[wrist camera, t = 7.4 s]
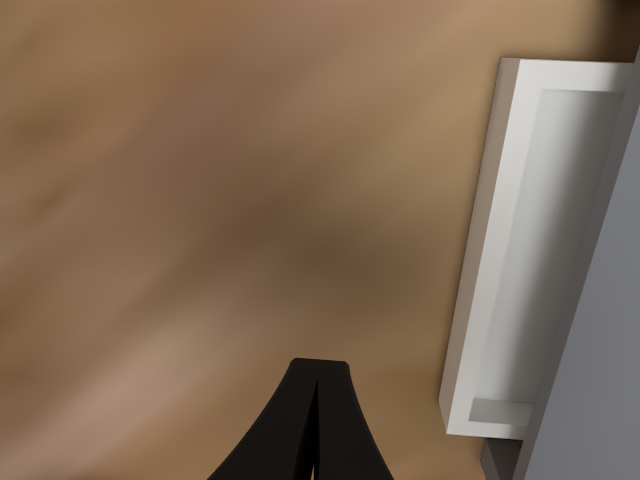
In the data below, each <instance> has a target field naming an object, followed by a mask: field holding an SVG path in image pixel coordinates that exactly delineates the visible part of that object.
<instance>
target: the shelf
mask: <svg viewBox="0 0 640 480" xmlns="http://www.w3.org/2000/svg"><path fill="white" fill-rule="evenodd" d="M481 464H482V468H483V471H484V474H485V477H486V480H640V46H639V49H638V52H637V56H636V59H635V63H634V66H633V69H632V73H631V76H630V80H629V83H628V86H627V90H626V93H625V97H624V100H623V103H622V107H621V110H620V114H619V117H618V120H617V124H616V127H615V131H614V134H613V137H612V141H611V144H610V148H609V151H608V155H607V158H606V161H605V165H604V168H603V172H602V175H601V178H600V182H599V185H598V189H597V192H596V195H595V199H594V202H593V206H592V209H591V212H590V216H589V219H588V223H587V226H586V229H585V233H584V236H583V240H582V243H581V246H580V250H579V253H578V257H577V260H576V263H575V267H574V270H573V274H572V277H571V281H570V284H569V287H568V291H567V294H566V298H565V301H564V304H563V308H562V311H561V315H560V318H559V321H558V325H557V328H556V332H555V335H554V338H553V342H552V345H551V349H550V352H549V355H548V359H547V362H546V366H545V369H544V372H543V376H542V379H541V383H540V386H539V389H538V393H537V396H536V400H535V403H534V407H533V410H532V413H531V417H530V420H529V424H528V427H527V430H526V434H525V437H524V441H523V444H522V447H521V449H520V446H519V444H518V442H517V441H509V440H497V439H486V440H485V445H484V449H483V453H482V457H481Z"/></svg>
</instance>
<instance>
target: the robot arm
mask: <svg viewBox="0 0 640 480" xmlns="http://www.w3.org/2000/svg"><path fill="white" fill-rule="evenodd" d="M313 465H314V480H394V478H393V477H392V475H391V473H390V471H389V469H388V467H387V466H386V464H385V462H384V460H383V458H382V456H381V454H380V452H379V450H378V448H377V446H376V443H375V441H374V439H373V437H372V435H371V432H370V430H369V428H368V425H367V423H366V420H365V418H364V415H363V413H362V411H361V408H360V405H359V402H358V399H357V396H356V393H355V390H354V387H353V383H352V379H351V375H350V369H349V365H348V364H347V363H346V362H345V361H333V360H319V359H306V358H295V359H293V360H292V361H291V362H290V365H289V367H288V369H287V371H286V373H285V375H284V377H283V379H282V381H281V383H280V384H279V386H278V388H277V389H276V391H275V393H274V394H273V396H272V397H271V399H270V400H269V402H268V403H267V405H266V406H265V408H264V409H263V411H262V412H261V414H260V415H259V417H258V418H257V420H256V421H255V422H254V424H253V425H252V426H251V428H250V429H249V430H248V432H247V433H246V434H245V435H244V437H243V438H242V439H241V441H240V442H239V443H238V445H237V446H236V447H235V448H234V449H233V451H232V452H231V453H230V454H229V455H228V457H227V458H226V459H225V460H224V461H223V462H222V464H221V465H220V466H219V467H218V468H217V469H216V470H215V471H214V472H213V474H212V475H211V476H210V477H209V478H208V479H207V480H311V476H312V470H313Z"/></svg>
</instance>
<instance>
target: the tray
mask: <svg viewBox="0 0 640 480" xmlns="http://www.w3.org/2000/svg"><path fill="white" fill-rule="evenodd" d="M633 66H634V63H624V62H599V61H575V60H551V59H527V58H503V57H501V58H500V63H499V69H498V74H497V80H496V85H495V91H494V96H493V102H492V107H491V113H490V118H489V124H488V129H487V135H486V140H485V146H484V151H483V157H482V162H481V168H480V173H479V179H478V184H477V190H476V195H475V201H474V206H473V212H472V217H471V223H470V228H469V234H468V239H467V245H466V250H465V256H464V261H463V267H462V273H461V278H460V284H459V289H458V295H457V300H456V306H455V311H454V317H453V322H452V328H451V333H450V339H449V344H448V350H447V355H446V361H445V366H444V372H443V377H442V383H441V388H440V394H439V399H438V401H439V406H440V410H441V414H442V418H443V422H444V426H445V431H446V434H454V435H467V436H479V437H492V438H505V439H518V440H524V437H525V434H526V430H527V427H528V424H529V420H530V417H531V413H532V410H533V407H534V403H535V400H536V396H537V393H538V389H539V386H540V383H541V379H542V376H543V372H544V369H545V366H546V362H547V359H548V355H549V352H550V349H551V345H552V342H553V338H554V335H555V332H556V328H557V325H558V321H559V318H560V315H561V311H562V308H563V304H564V301H565V298H566V294H567V291H568V287H569V284H570V281H571V277H572V274H573V270H574V267H575V263H576V260H577V257H578V253H579V250H580V246H581V243H582V240H583V236H584V233H585V229H586V226H587V223H588V219H589V216H590V212H591V209H592V206H593V202H594V199H595V195H596V192H597V189H598V185H599V182H600V178H601V175H602V172H603V168H604V165H605V161H606V158H607V155H608V151H609V148H610V144H611V141H612V137H613V134H614V131H615V127H616V124H617V120H618V117H619V114H620V110H621V107H622V103H623V100H624V97H625V93H626V90H627V86H628V83H629V80H630V76H631V73H632V69H633Z"/></svg>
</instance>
